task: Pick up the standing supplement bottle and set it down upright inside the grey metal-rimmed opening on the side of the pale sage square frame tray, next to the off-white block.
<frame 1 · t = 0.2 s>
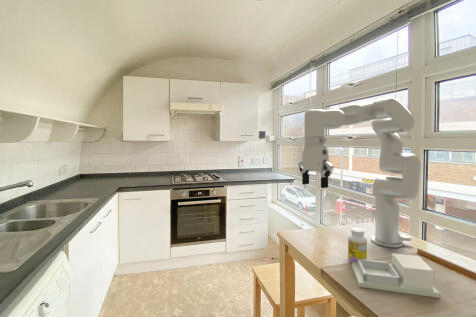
hand: (314, 185, 91), 31 cm above the table, tool pointing down, fingers open, 9 cm apart
supplement bottle: (357, 261, 93), on the table
square frame tray: (390, 280, 79), on the table
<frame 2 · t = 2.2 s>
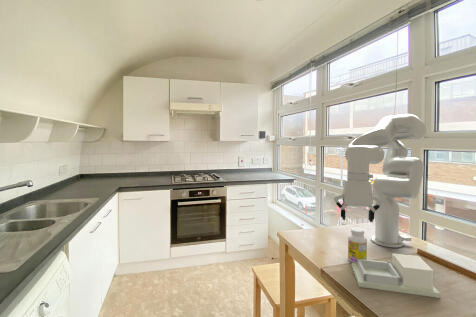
hand: (356, 220, 92), 17 cm above the table, tool pointing down, fingers open, 9 cm apart
nothing on the table moved.
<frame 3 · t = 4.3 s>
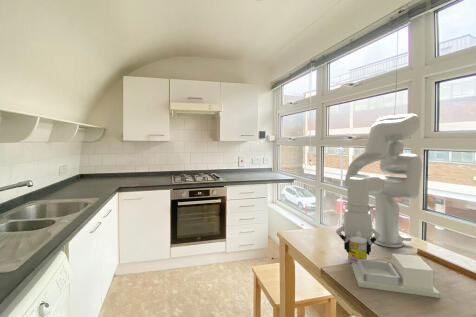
hand: (357, 251, 93), 4 cm above the table, tool pointing down, fingers closed on supplement bottle, 6 cm apart
supplement bottle: (357, 261, 93), on the table, touching gripper
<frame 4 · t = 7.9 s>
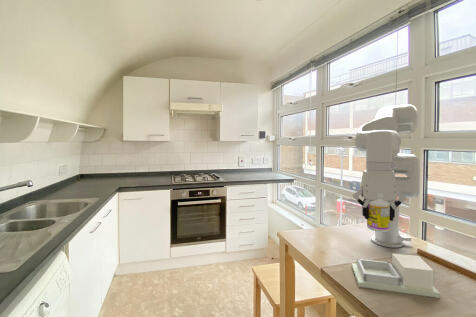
hand: (378, 218, 79), 21 cm above the table, tool pointing down, fingers closed on supplement bottle, 6 cm apart
supplement bottle: (377, 229, 80), point 17 cm above the table, touching gripper
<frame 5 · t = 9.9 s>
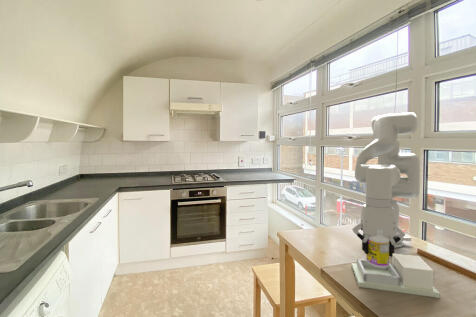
hand: (377, 253, 80), 9 cm above the table, tool pointing down, fingers closed on supplement bottle, 6 cm apart
supplement bottle: (377, 264, 80), point 5 cm above the table, touching gripper
when the fingers open (7 cm above the table, at t = 11.4 s): supplement bottle drops 1 cm, resting on square frame tray.
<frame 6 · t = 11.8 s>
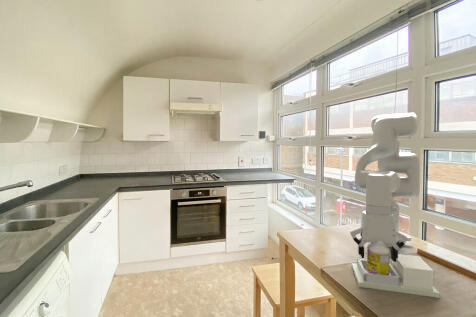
hand: (377, 258, 80), 7 cm above the table, tool pointing down, fingers open, 9 cm apart
supplement bottle: (377, 274, 81), point 1 cm above the table, touching square frame tray
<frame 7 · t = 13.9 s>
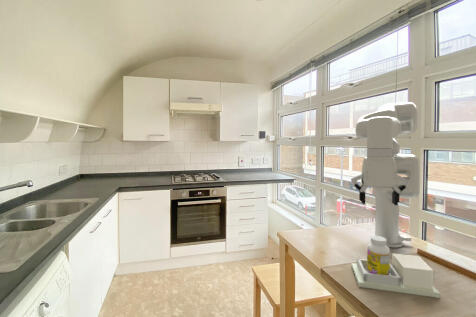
hand: (378, 203, 80), 26 cm above the table, tool pointing down, fingers open, 9 cm apart
nothing on the table moved.
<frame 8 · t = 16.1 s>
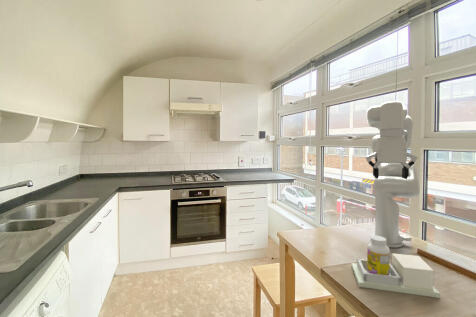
hand: (390, 178, 91), 33 cm above the table, tool pointing down, fingers open, 9 cm apart
nothing on the table moved.
at the end: supplement bottle 0.4 cm from the target spot on the square frame tray, point 1.3 cm above the square frame tray's base; supplement bottle tilted 0°; the gripper is holding nothing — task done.
